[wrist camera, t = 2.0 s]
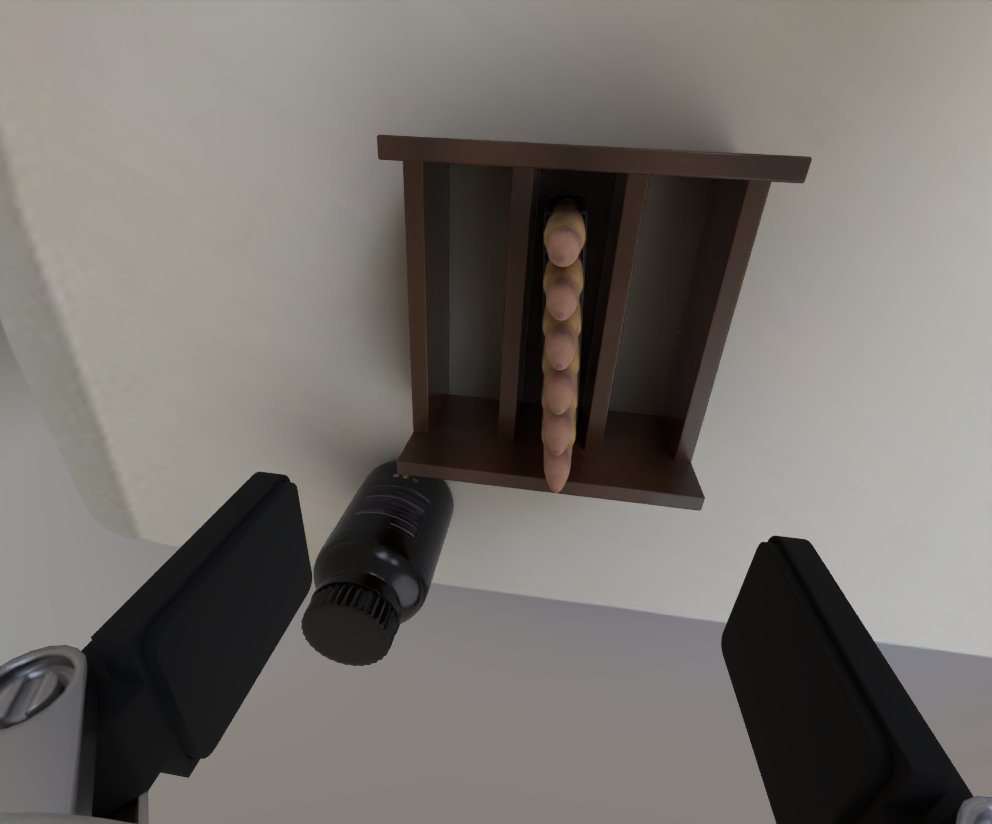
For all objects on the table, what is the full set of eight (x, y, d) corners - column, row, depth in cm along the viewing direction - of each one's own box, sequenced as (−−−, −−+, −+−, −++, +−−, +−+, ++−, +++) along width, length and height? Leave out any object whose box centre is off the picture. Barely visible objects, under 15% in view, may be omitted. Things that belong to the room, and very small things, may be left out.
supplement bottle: (449, 540, 37) (402, 692, 26) (363, 520, 37) (282, 663, 27) (462, 467, 34) (413, 609, 23) (367, 446, 34) (276, 576, 23)
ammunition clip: (576, 386, 30) (578, 512, 19) (545, 385, 30) (531, 509, 19) (585, 195, 25) (595, 224, 14) (548, 196, 25) (532, 226, 14)
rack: (739, 156, 23) (813, 156, 16) (670, 428, 30) (701, 511, 23) (431, 140, 24) (376, 134, 17) (435, 403, 32) (397, 474, 25)
